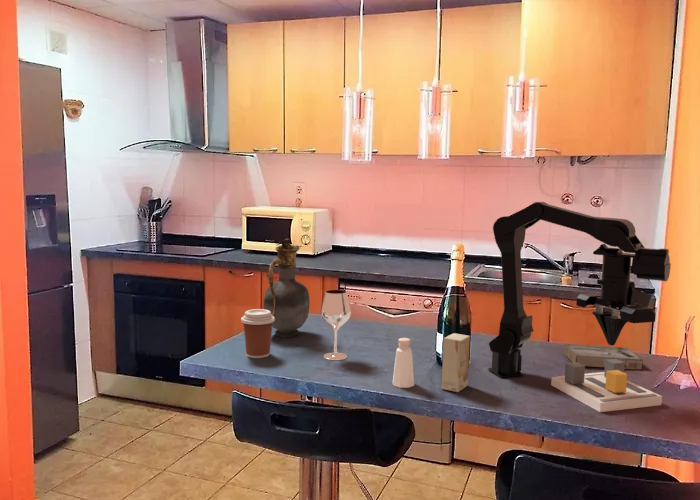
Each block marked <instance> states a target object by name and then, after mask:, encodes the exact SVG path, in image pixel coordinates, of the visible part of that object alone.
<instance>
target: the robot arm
mask: <svg viewBox="0 0 700 500" xmlns="http://www.w3.org/2000/svg"><path fill="white" fill-rule="evenodd" d="M540 221H544V222H547V223H551V224H554V225H558V226H562V227H564V228H569V229H572V230H575V231H579V232H582V233H585V234H587V235H589V236H590V237H592V238H594V239H596V240H597V241H599V242H600V243H601V242H602V243H601V244H600V245H599V247H597V248H596V249H595V250H594V251H593V252H592V253H593V255H596V256H602V266H601V267H602V269H601V278H600V279H599V278H598V279H597V282H596V284H597V285H599V286H600V293H598V292H590V293H579V294H578V296H576V304H575V305H576V306H577V307H580V308H587V307H588V306H595V307H594V308H595V309H594V311H592V315H594V317H595V319H596V321H597V323H598V324H599V326H600V329H601V330H602V333H603V335H604V337H605V340H606V342H607V344H608V345H609V346H615V345H616V343H617V340H619V336H620V335H621V332H622V330H623V328H624V327H625V325H626V324H627V323H631V324H643V323H645V324H646V323H655V322H656V317H657V316H656V311H655V309H653V307H649V305H650V302H651V300H652V297H653V295H652V294H650V293H647V292H645V291H642V290H639V289H636V283H635V281H632V280H631V273H632V274H633V275H634V276H636V278H637V279H642V280H648V281H650V280H651V281H658V282H659V281H660V282H667V281H668V280H669V278H670V275H671V274H670V273H671V265H672V263H671V260H670V255H669V252H670V249H668V248H647V247H646V248H645V246H644V244H643V242H641V240H640V239H639V238H638V236H637V234H636V228H635V225H634V224H633V223H632V222H631V221H630V220H628V219H626V218H617V217H604V216H603V217H602V216H601V217H600V216H593V215H590V214H589V215H588V214H585V213H582V212H579V211H575V210H570V209H567V208H563V207H560V206H556V205H552V204H549V203H546V202H544V201H533V202H532V203H530V204H529V205H528V206H526V207H524V208H523V209H520V210H518V211H516V212H514V213H512V214H511V215H508V216H500V217H499V218H497V219H496V220H495V222H494V223H493V225H492V231H493V236H494V242H495V244H496V246H497V248H498V250H499V252H500V255H501V256H500V258H501V259H500V260H501V277H502V293H503V294H502V295H503V298H502V299H503V313H502V315H501V318H500V321H499V327H498V335H497V336H496V337H494V338H493V339H492V340H491V341H490V342H488V347H489V349H490V352H492V353H491V367H488V368H487V369H488V371H489V372H490V373H493V375H496V376H498V377H499V378H502V379H503V378H504V379H505V378H512V377H521V376H523V377H524V373H523V372H522V362H523V360H522V359H523V356H522V350H521V348H523V345H524V344H525V343H526V342H528V341H529V339H530V338H531V337H532V333H533V332H534V331H535V330H534V327H533V315H527V313H526V311H525V309H524V298H523V297H524V296H523V295H524V294H523V276H522V275H523V274H522V255H521V254H522V253H521V251H522V248H523V246H524V243H525V239H526V231H527V229H529V228H531V227H533V226H535V224H536V223H538V222H540ZM609 246H610V247H609Z"/></svg>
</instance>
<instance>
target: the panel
mask: <svg viewBox="0 0 700 500" xmlns="http://www.w3.org/2000/svg"><path fill="white" fill-rule="evenodd" d="M624 368H625V362H622V361H620V360H617V359H609V360H605V367H604V371H602V372H601V371H600V372H589V373H586V372H585V371H586V366H583V365H581V364H579V363H577V362H575V363H572V362H566V363H565V367H564V375H560V376H559V375H558V376H551V381H550V382H551V384H550V385H551V386H552V387H554V388H556V389H557V390H559V391H561V392H562V393H564V394H566V395H568V396H569V397H572V398H573V399H576V400H577V401H579V402H581V403H583V404H584V405H586V406H588V407H589V408H592V409H593V410H595V411H596V412H598V413H604V412H606V413H607V412H613V411H621V410H631V409H638V408H647V407H655V406H656V407H657V406H662V400H663V395H660V394H658V393H656V392H654V391H651V390H649V389H647V388H644V386H641V385H638V384H636V383H633V382H631V381H630V380H627V386H626V392H618V393H614V392H612V391H610V390H608V389H606V388H605V385H606V371H611V370H619V371H621V372H624V373H625V369H624Z"/></svg>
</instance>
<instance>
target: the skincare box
mask: <svg viewBox="0 0 700 500" xmlns="http://www.w3.org/2000/svg"><path fill="white" fill-rule="evenodd" d="M442 341H443V344H442V345H443V347H442V372H441V389H442V390H446V391H451V392H454V393H455V392H456V393H459V392H460V391H462V390H464V389H465V388H466V387H467V386H468V384H469V361H470V341H471V338H470V335H466V334H460V333H456V332H454V333H451V334H449V335H447V336H446V337H443V340H442Z"/></svg>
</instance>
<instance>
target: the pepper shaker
mask: <svg viewBox="0 0 700 500" xmlns="http://www.w3.org/2000/svg"><path fill="white" fill-rule="evenodd" d="M410 346H411V339H410V338H408V337H401V338H398V348H396V352H395V360H394V368H393V377H392V386H393V387H396V388H399V389H403V388H404V389H410V388H412V387H414V386H415V377H414V366H413V365H414V364H413V351H412V348H411V347H410Z"/></svg>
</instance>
